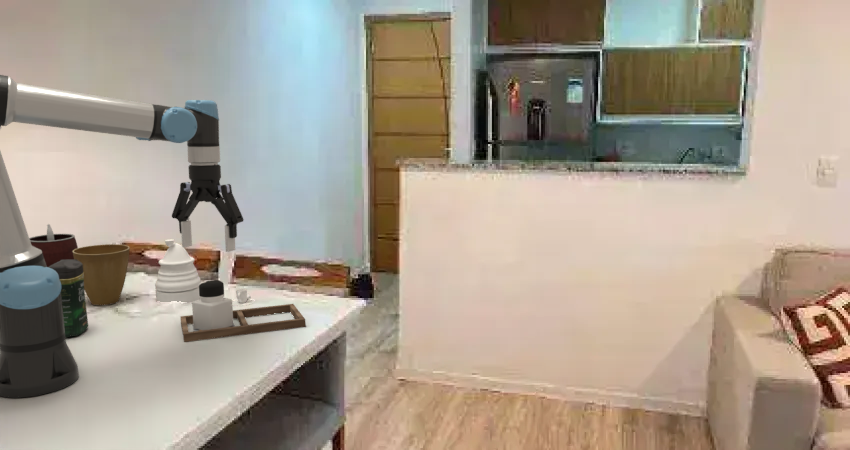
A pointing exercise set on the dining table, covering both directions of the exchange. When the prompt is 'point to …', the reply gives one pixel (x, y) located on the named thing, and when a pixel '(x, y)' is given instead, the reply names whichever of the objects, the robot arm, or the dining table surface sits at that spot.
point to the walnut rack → (244, 326)
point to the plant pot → (103, 271)
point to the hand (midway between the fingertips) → (208, 248)
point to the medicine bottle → (212, 307)
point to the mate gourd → (55, 246)
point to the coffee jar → (72, 296)
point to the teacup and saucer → (242, 296)
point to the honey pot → (177, 276)
